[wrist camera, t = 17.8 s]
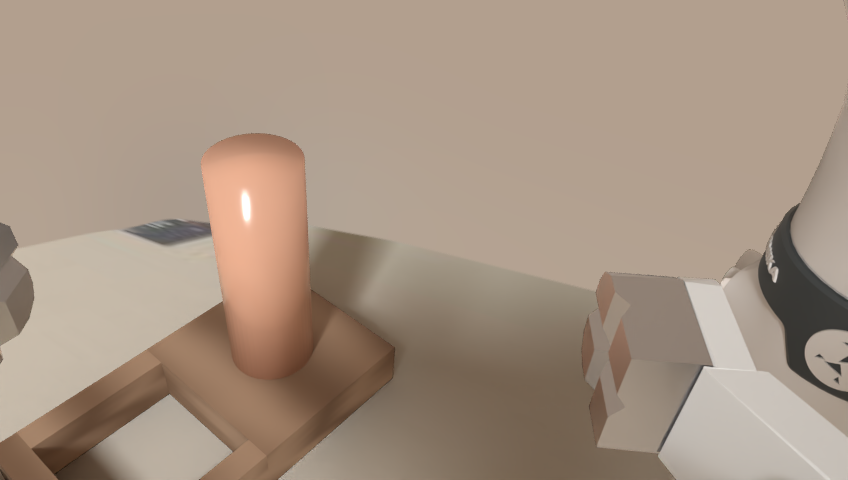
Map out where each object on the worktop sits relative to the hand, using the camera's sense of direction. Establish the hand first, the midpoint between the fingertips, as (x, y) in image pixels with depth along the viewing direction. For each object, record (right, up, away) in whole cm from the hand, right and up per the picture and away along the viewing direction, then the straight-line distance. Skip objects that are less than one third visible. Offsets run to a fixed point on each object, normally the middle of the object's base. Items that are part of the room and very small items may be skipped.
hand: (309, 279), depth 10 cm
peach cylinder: (-8, -6, +34) cm, 35 cm away
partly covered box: (-11, -11, +33) cm, 36 cm away
